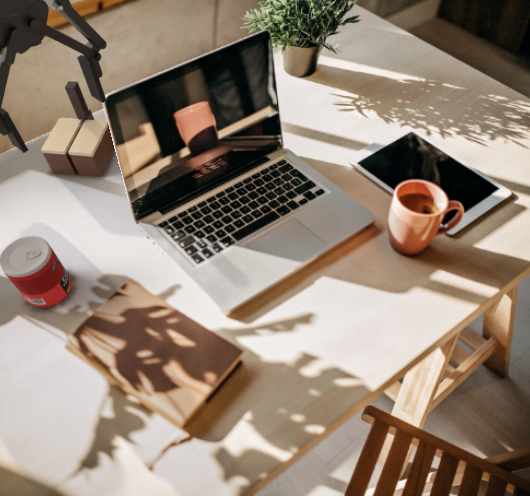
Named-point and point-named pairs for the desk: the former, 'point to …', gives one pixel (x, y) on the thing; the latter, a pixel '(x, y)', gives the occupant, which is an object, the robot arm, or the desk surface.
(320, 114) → the desk surface
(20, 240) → the canned food
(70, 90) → the slicer
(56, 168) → the cake
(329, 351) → the desk surface
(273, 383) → the desk surface
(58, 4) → the robot arm
